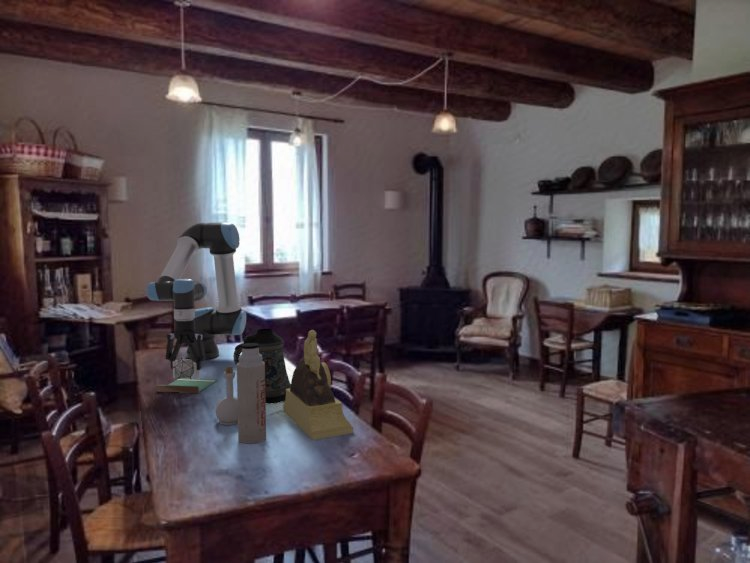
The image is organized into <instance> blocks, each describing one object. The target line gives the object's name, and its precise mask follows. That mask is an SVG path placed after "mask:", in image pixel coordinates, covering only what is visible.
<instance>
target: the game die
mask: <svg viewBox="0 0 750 563" xmlns="http://www.w3.org/2000/svg"><path fill="white" fill-rule="evenodd" d="M194 362H195V359H194V358H192V359H188V358H183V357H182V356H181V357H180V360H179V361H178V364H177V365H176V366H175V367H173V368H175V369H176V371H177V373H178V377H177V378H178V379H180V378H190V379H191V378H192V376H193V375H194Z"/></svg>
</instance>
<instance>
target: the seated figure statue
mask: <svg viewBox="0 0 750 563" xmlns="http://www.w3.org/2000/svg"><path fill="white" fill-rule="evenodd" d="M317 334H318V333H317V332H316V331H315V330H314V329H311V330H309V331H308V333H307V338H306V339H305V341H304V345H303V357H302V358H301V359H300V360H299V361H298V362H297V365H296V366H295V369H294V371H293V372H292V377H291V381H290V384H291V387H290V388H289V389H286V399H285V401H284V404H283V407H282V409H283V413H284V414H285V415H286V416H287V418H289V419H290V420H291V419H292V420H291V421H293V422H294V423H295V425H296V426H298V428H300V429H301V431H303V432H304V433H305V435H307V436H308V437H309V438H310V439H311V440H312V441H316V440H320V439H321V440H322V439H326V438H330V437H331V438H332V437H337V436H343V435H347V434H353V433H354V426H353V425H352V424H351V422H349V420H348V419H347V418H346V416H345V414H344V412H343V407H342V406H343V404H342V403H343V402H341V401H340V400H338V398H335V395H334V392H333V391H332V389H331V388H332V377H331V371H330V368H329V367H328V364H327V363H326V362H324V361H322V362H321V357H320V356H319V354H318V338H316V337H317Z"/></svg>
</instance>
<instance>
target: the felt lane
mask: <svg viewBox="0 0 750 563" xmlns="http://www.w3.org/2000/svg"><path fill="white" fill-rule="evenodd" d="M217 380H218V379H216V378H215V379H213V378H212V379H211V378H197V379H194V378H192V377H191V379H190V378H183V377H180V378H179V379H176V380H174V381H173V382H171V383H169V384H168V385H176V386H199V393H200V392H203V391H204V390H205V389H207V388H209V387H210V386H212V385H213V384H215V383H217V382H218V381H217ZM214 382H215V383H214Z"/></svg>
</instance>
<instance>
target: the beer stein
mask: <svg viewBox="0 0 750 563" xmlns="http://www.w3.org/2000/svg"><path fill="white" fill-rule="evenodd" d="M246 343H257V344H259V347H258V348H259V353H260V354H261V355H262V358H263V359H262V361H263V362H264V363H265V399H266V405H271V403H273V404H279V403H282V401H283V402H285V399H286V389H289V388H290V387H291V381H290V379H289V376H288V371H287V368H286V360H285V356H284V350H283V348H284V345H285V341H284V339H283V338H282V337H281V336H279V334H277V333H275V332H274V331H273V329H272V328H260V329H257V332H255V333H252V334H248V335H246V336H244V337H243V342H241V343H239V344H237V345H236V346H235V347H234V352H233V361H234V364H235V367H237V363H239V359H238V358H239V356H240V355H241V354H242V348H241V345H242V344H246ZM278 402H279V403H278Z"/></svg>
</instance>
